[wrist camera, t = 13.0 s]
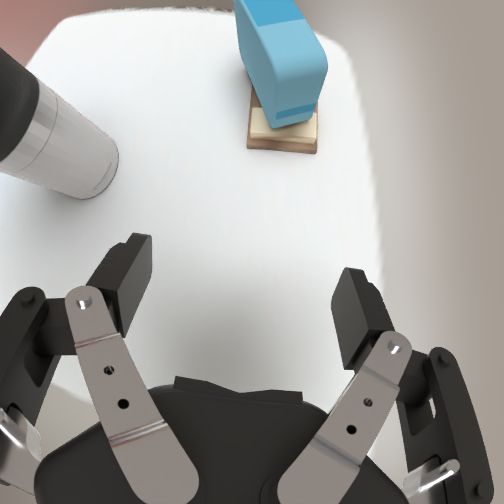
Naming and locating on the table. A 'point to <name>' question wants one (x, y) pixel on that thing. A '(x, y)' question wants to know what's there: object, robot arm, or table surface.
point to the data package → (280, 59)
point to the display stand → (280, 132)
